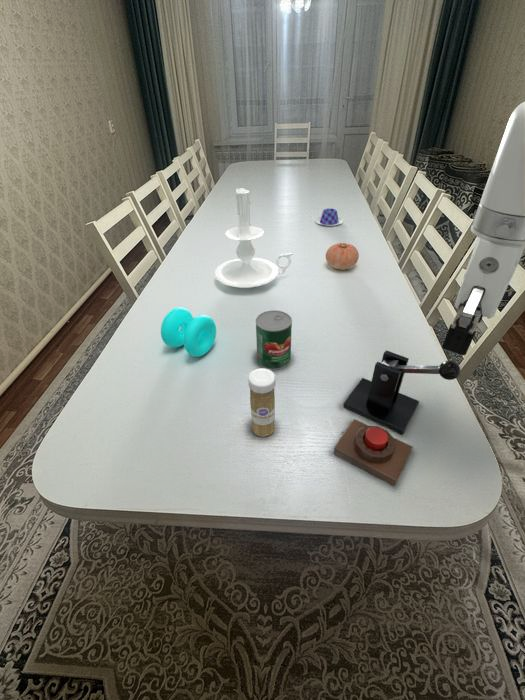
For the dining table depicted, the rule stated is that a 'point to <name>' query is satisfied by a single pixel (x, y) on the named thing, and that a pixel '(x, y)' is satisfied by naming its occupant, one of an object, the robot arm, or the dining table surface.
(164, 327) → the turquoise yoyo
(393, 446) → the button block
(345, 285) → the dining table surface
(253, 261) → the candlestick
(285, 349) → the canned tomato
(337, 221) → the pudding
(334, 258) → the orange round vegetable
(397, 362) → the lever
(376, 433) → the button
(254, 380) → the sprinkles bottle
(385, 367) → the bracket
